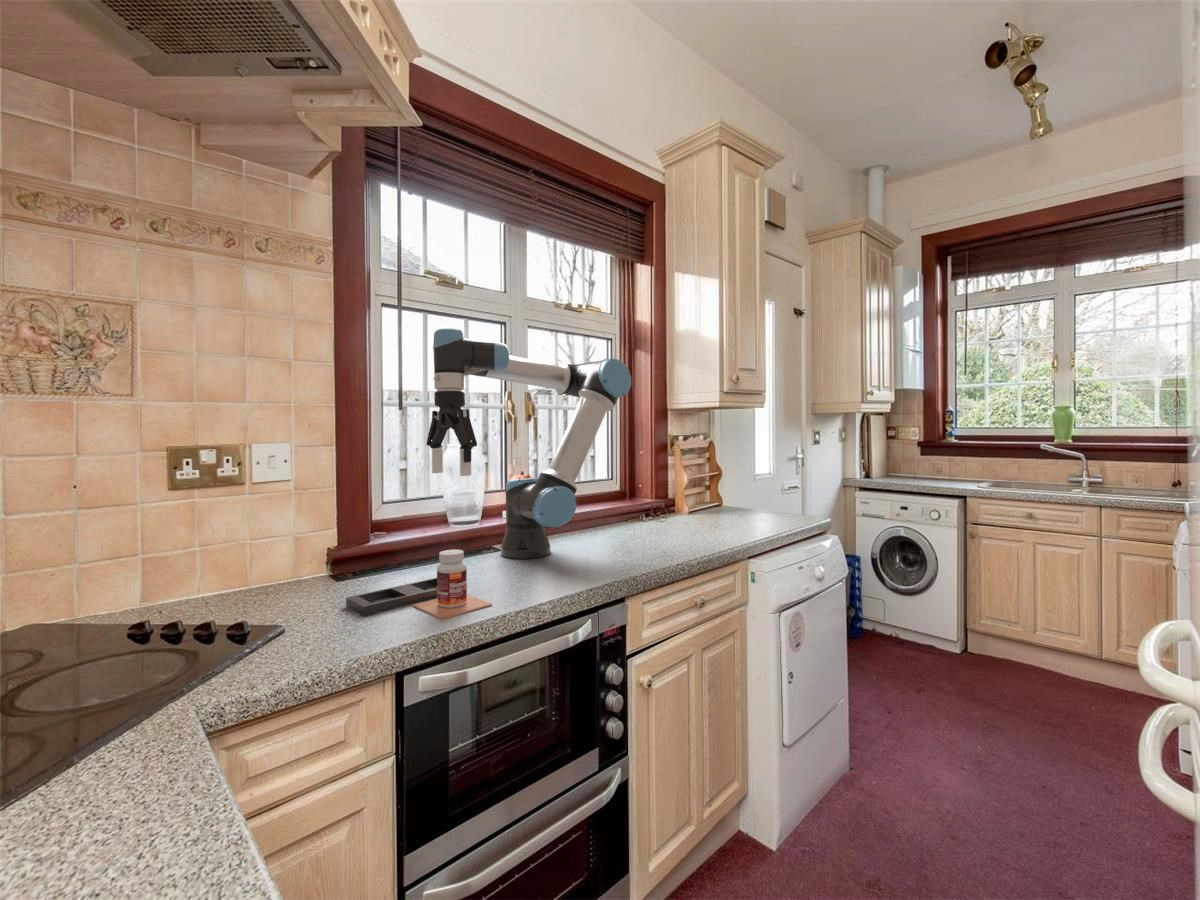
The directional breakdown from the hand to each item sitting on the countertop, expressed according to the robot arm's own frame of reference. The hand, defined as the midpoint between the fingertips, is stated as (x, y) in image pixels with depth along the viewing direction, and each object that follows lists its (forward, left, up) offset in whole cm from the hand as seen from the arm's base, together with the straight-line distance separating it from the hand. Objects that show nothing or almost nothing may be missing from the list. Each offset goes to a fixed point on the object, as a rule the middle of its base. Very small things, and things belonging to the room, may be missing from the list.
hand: (451, 474), depth 138 cm
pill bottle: (+12, +20, -26) cm, 35 cm away
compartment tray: (+16, +8, -27) cm, 32 cm away
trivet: (+12, +20, -27) cm, 35 cm away
